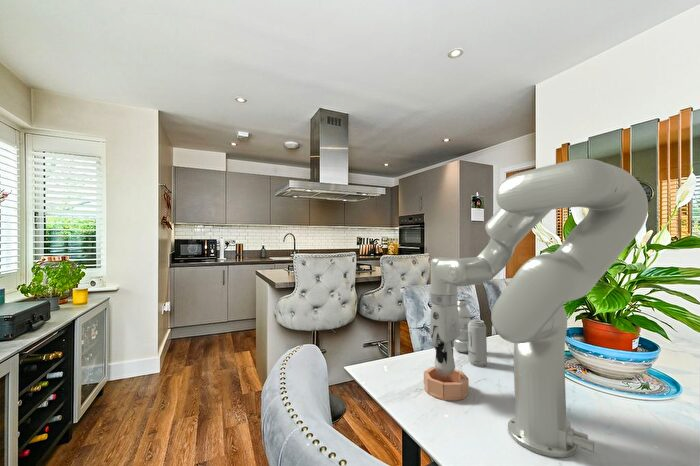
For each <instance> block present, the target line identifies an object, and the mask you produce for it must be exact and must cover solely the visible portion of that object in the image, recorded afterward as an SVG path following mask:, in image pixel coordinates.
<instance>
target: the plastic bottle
mask: <svg viewBox="0 0 700 466" xmlns="http://www.w3.org/2000/svg"><path fill="white" fill-rule="evenodd" d="M467 306H468V302H467V299H458V310H459V320H460V335H459V337H457V338H455V340H454V347H453V349H455V351H457V352H460V353H468V324H469V322H470V321H469V320H471V317H472V315H471V312H470V310H469V309H468V307H467Z"/></svg>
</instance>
